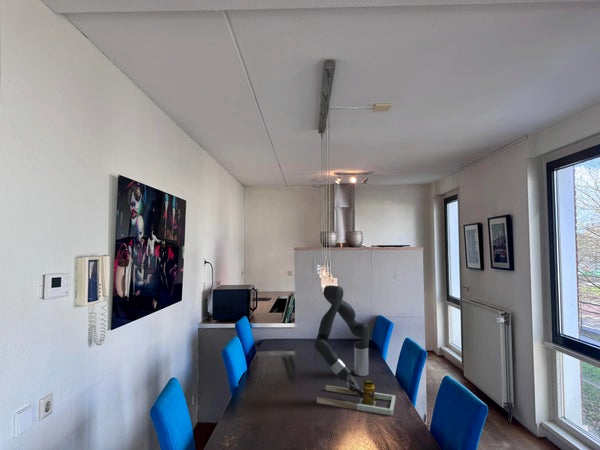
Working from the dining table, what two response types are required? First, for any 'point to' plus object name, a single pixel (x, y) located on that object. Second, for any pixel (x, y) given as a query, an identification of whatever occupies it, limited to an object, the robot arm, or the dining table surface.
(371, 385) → the condiment
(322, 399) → the wooden guide rails
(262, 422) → the dining table surface
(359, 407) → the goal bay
